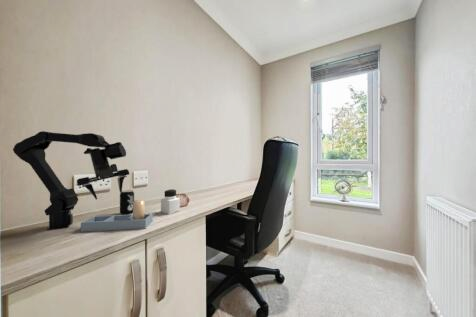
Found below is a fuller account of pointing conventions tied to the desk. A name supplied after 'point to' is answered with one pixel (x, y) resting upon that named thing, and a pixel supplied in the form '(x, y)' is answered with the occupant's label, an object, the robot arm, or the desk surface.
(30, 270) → the desk surface
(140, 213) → the pin
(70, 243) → the desk surface
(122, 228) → the blue-grey compartment tray
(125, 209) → the beverage can
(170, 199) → the medicine bottle
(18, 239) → the desk surface
